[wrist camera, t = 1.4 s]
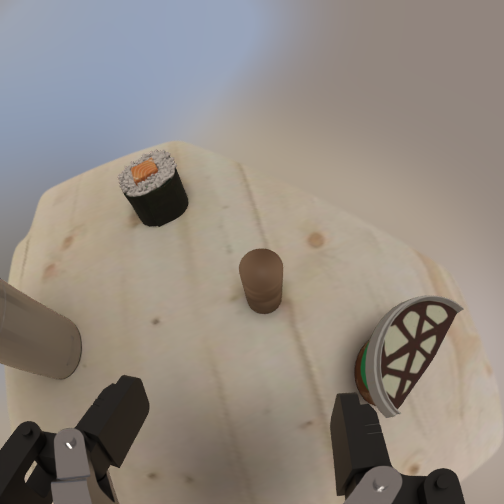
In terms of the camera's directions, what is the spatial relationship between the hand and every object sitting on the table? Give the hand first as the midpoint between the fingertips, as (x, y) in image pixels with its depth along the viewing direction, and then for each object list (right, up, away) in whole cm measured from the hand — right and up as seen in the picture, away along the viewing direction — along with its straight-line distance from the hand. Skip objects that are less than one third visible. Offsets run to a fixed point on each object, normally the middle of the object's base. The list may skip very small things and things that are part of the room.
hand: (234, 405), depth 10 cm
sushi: (-13, +13, +31) cm, 36 cm away
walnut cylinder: (+2, +1, +23) cm, 23 cm away
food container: (+15, -6, +18) cm, 24 cm away
